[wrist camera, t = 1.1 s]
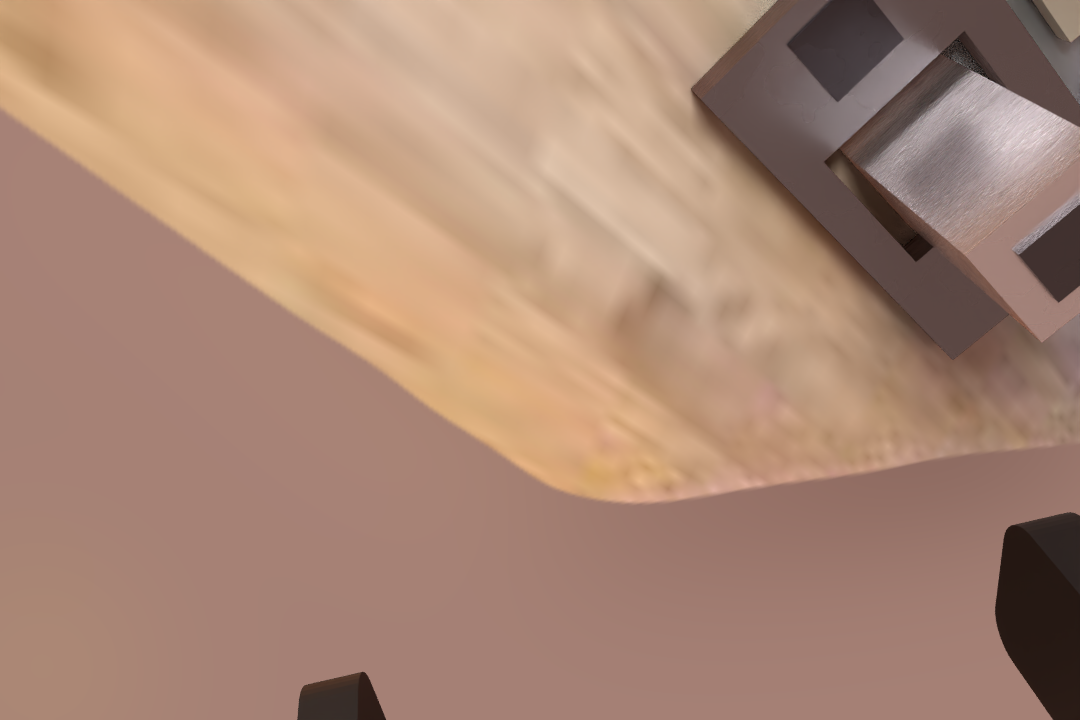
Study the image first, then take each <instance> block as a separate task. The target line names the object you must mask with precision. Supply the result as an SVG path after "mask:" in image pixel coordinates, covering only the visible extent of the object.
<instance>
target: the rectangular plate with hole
mask: <svg viewBox="0 0 1080 720" xmlns="http://www.w3.org/2000/svg"><path fill="white" fill-rule="evenodd" d="M957 37H958V38H959V39H960V41H961V42H962V43H963V45H964V46H965V47H966V49H967V50H968V51H969V53H970V54H971V55H972V57H973V58H974V59H975V61H976V62H977V63H978V65H979V66H980V67H981V69H982V70H983V71H984V73H985V74H986V75H987V77H988V78H989V79H990V80H991V81H993V82H994V83H996V84H998V85H1000V86H1002V87H1004V88H1006V89H1008V90H1010V91H1012V92H1013V93H1015V94H1017V95H1019V96H1021V97H1023V98H1025V99H1027V100H1029V101H1031V102H1032V103H1034V104H1036V105H1038V106H1040V107H1042V108H1044V109H1046V110H1048V111H1049V112H1051V113H1053V114H1055V115H1057V116H1059V117H1061V118H1063V119H1065V120H1067V121H1068V122H1070V123H1072V124H1074V125H1076V126H1078V127H1080V106H1079V104H1078V103H1077V101H1076V100H1075V98H1074V97H1073V96H1072V94H1071V93H1070V91H1069V90H1068V88H1067V87H1066V86H1065V84H1064V83H1063V81H1062V80H1061V78H1060V77H1059V76H1058V74H1057V73H1056V71H1055V70H1054V69H1053V67H1052V66H1051V64H1050V63H1049V61H1048V60H1047V59H1046V57H1045V56H1044V54H1043V53H1042V51H1041V50H1040V49H1039V47H1038V46H1037V44H1036V43H1035V41H1034V40H1033V39H1032V37H1031V36H1030V34H1029V33H1028V31H1027V30H1026V29H1025V27H1024V26H1023V24H1022V23H1021V22H1020V20H1019V19H1018V17H1017V16H1016V14H1015V13H1014V12H1013V10H1012V9H1011V7H1010V6H1009V4H1008V3H1007V2H1006V0H778V1H777V2H776V3H775V4H774V5H773V6H772V7H771V8H770V9H769V10H768V11H767V12H766V13H765V14H764V15H763V16H762V17H761V18H760V19H759V20H758V21H757V22H756V23H755V24H754V25H753V26H752V27H751V28H750V29H749V30H748V32H747V33H746V34H745V35H744V36H743V37H742V38H741V39H740V40H739V41H738V42H737V43H736V44H735V45H734V46H733V47H732V48H731V49H730V50H729V51H728V52H727V53H726V54H725V55H724V56H723V57H722V58H721V59H720V60H719V61H718V62H717V63H716V64H715V65H714V66H713V67H712V68H711V69H710V70H709V71H708V72H707V73H706V74H705V75H704V76H703V77H702V78H701V79H700V80H699V81H698V82H697V83H696V84H695V85H694V86H693V87H692V88H691V90H692V91H693V92H694V93H695V94H696V95H697V96H698V97H699V98H700V99H701V100H702V101H703V102H704V103H705V104H706V105H707V107H708V108H709V109H710V110H711V111H712V112H713V113H714V114H715V115H716V116H717V117H718V118H719V119H720V120H721V121H722V122H723V123H724V124H725V125H726V126H727V127H728V128H729V129H730V130H731V131H732V132H733V133H734V134H735V135H736V137H737V138H738V139H739V140H740V141H741V142H742V143H743V144H744V145H745V146H746V147H747V148H748V149H749V150H750V151H751V152H752V153H753V154H754V155H755V156H756V157H757V158H758V159H759V160H760V161H761V162H762V163H763V164H764V165H765V166H766V168H767V169H768V170H769V171H770V172H771V173H772V174H773V175H774V176H775V177H776V178H777V179H778V180H779V181H780V182H781V183H782V184H783V185H784V186H785V187H786V188H787V189H788V190H789V191H790V192H791V193H792V194H793V195H794V196H795V197H796V199H797V200H798V201H799V202H800V203H801V204H802V205H803V206H804V207H805V208H806V209H807V210H808V211H809V212H810V213H811V214H812V215H813V216H814V217H815V218H816V219H817V220H818V221H819V222H820V223H821V224H822V225H823V226H824V227H825V229H826V230H827V231H828V232H829V233H830V234H831V235H832V236H833V237H834V238H835V239H836V240H837V241H838V242H839V243H840V244H841V245H842V246H843V247H844V248H845V249H846V250H847V251H848V252H849V253H850V254H851V255H852V256H853V257H854V258H855V260H856V261H857V262H858V263H859V264H860V265H861V266H862V267H863V268H864V269H865V270H866V271H867V272H868V273H869V274H870V275H871V276H872V277H873V278H874V279H875V280H876V281H877V282H878V283H879V284H880V285H881V286H882V287H883V288H884V289H885V291H886V292H887V293H888V294H889V295H890V296H891V297H892V298H893V299H894V300H895V301H896V302H897V303H898V304H899V305H900V306H901V307H902V308H903V309H904V310H905V311H906V312H907V313H908V314H909V315H910V316H911V317H912V318H913V319H914V321H915V322H916V323H917V324H918V325H919V326H920V327H921V328H922V329H923V330H924V331H925V332H926V333H927V334H928V335H929V336H930V337H931V338H932V339H933V340H934V341H935V342H936V343H937V344H938V345H939V346H940V347H941V348H942V349H943V350H944V352H945V353H946V354H947V355H948V356H949V357H950V358H951V359H952V360H953V359H955V358H956V357H957V356H958V355H960V354H961V353H962V352H963V351H965V350H966V349H967V348H968V347H969V346H971V345H972V344H973V343H974V342H976V341H977V340H978V339H979V338H981V337H982V336H983V335H984V334H985V333H987V332H988V331H989V330H990V329H992V328H993V327H994V326H995V325H997V324H998V323H999V322H1000V321H1001V320H1003V319H1004V318H1005V317H1006V316H1008V315H1009V313H1008V312H1006V311H1005V310H1004V309H1003V308H1002V307H1001V306H1000V305H999V304H997V303H996V302H995V301H994V300H993V299H992V298H991V297H989V296H988V295H987V294H986V293H985V292H984V291H983V290H982V289H980V288H979V287H978V286H977V285H976V284H975V283H974V282H972V281H971V280H970V279H969V278H968V277H967V276H966V275H965V274H963V273H962V272H961V271H960V270H959V269H958V268H957V267H955V266H954V265H953V264H952V263H951V262H950V261H949V260H948V259H946V258H945V257H944V256H943V255H942V254H941V253H940V252H938V251H937V250H936V249H935V248H934V247H933V246H932V245H931V244H929V243H928V242H927V241H926V240H925V239H924V238H923V237H921V236H920V235H919V234H918V235H917V236H916V237H915V238H914V239H912V240H911V241H910V242H909V243H908V244H907V245H906V246H904V247H902V246H901V245H900V244H899V243H898V242H897V241H896V240H895V239H894V238H893V237H892V236H891V234H890V233H889V232H888V231H887V230H886V229H885V228H884V227H883V226H882V225H881V224H880V223H879V221H878V220H877V219H876V218H875V217H874V216H873V215H872V214H871V213H870V212H869V211H868V209H867V208H866V207H865V206H864V205H863V204H862V203H861V202H860V201H859V200H858V199H857V198H856V196H855V195H854V194H853V193H852V192H851V191H850V190H849V189H848V188H847V187H846V186H845V185H844V183H843V182H842V181H841V180H840V179H839V178H838V177H837V176H836V175H835V174H834V173H833V171H832V170H831V169H830V168H829V167H828V166H827V165H826V164H825V163H824V161H825V160H826V159H828V158H829V157H830V156H831V155H832V154H833V153H834V152H835V151H836V150H837V149H838V148H839V147H840V146H841V145H843V144H844V143H845V142H846V141H847V140H848V139H849V138H850V137H851V136H852V135H853V134H854V133H855V132H857V131H858V130H859V129H860V128H861V127H862V126H863V125H864V124H865V123H866V122H867V121H868V120H869V119H870V118H872V117H873V116H874V115H875V114H876V113H877V112H878V111H879V110H880V109H881V108H882V107H883V106H884V105H885V104H887V103H888V102H889V101H890V100H891V99H892V98H893V97H894V96H895V95H896V94H897V93H898V92H899V91H900V90H902V89H903V88H904V87H905V86H906V85H907V84H908V83H909V82H910V81H911V80H912V79H913V78H914V77H915V76H917V75H918V74H919V73H920V72H921V71H922V70H923V69H924V68H925V67H926V66H927V65H928V64H929V63H930V62H932V61H933V60H934V59H935V58H936V57H937V56H938V55H939V54H940V53H941V52H942V51H943V50H944V49H945V48H947V47H948V46H949V45H950V44H951V43H952V42H953V41H954V40H955V39H956V38H957Z"/></svg>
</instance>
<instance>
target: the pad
mask: <svg viewBox="0 0 1080 720" xmlns="http://www.w3.org/2000/svg"><path fill="white" fill-rule="evenodd" d="M1032 1H1033V3H1034V4H1035V6H1036V7H1037V8H1038V10H1039V11H1040V13H1041V14H1042V16H1043V17H1044V19H1045V20H1046V22H1047V23H1048V25H1049V26H1050V27H1051V29H1052V30H1053V32H1054V33H1055V35H1056V36H1057V37H1058V38H1060V39H1063V40H1065V41H1068V42H1070V43H1071V42H1072V41H1074V40H1075V39H1076V38H1077V37H1078V36H1079V35H1080V0H1032Z"/></svg>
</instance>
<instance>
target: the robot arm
mask: <svg viewBox="0 0 1080 720" xmlns="http://www.w3.org/2000/svg"><path fill="white" fill-rule="evenodd" d="M995 615H996V622H997V627H998V631H999V634H1000V637H1001V640H1002V642H1003V645H1004V647H1005V649H1006V651H1007V653H1008V655H1009V656H1010V658H1011V660H1012V661H1013V663H1014V664H1015V666H1016V667H1017V669H1018V670H1019V671H1020V673H1021V674H1022V676H1023V677H1024V679H1025V680H1026V681H1027V683H1028V684H1029V686H1030V687H1031V689H1032V690H1033V692H1034V693H1035V694H1036V696H1037V697H1038V699H1039V700H1040V702H1041V703H1042V704H1043V706H1044V707H1045V709H1046V710H1047V712H1048V713H1049V714H1050V716H1051V717H1052V719H1053V720H1080V516H1079V515H1077V514H1075V513H1071V512H1070V513H1064V514H1059V515H1055V516H1051V517H1047V518H1042V519H1037V520H1033V521H1029V522H1025V523H1020V524H1016V525H1012V526H1010V527H1008V529H1007V530H1006V532H1005V535H1004V542H1003V549H1002V557H1001V566H1000V574H999V582H998V590H997V598H996V606H995ZM297 720H386V718H385V716H384V713H383V711H382V708H381V706H380V704H379V701H378V699H377V696H376V694H375V691H374V689H373V687H372V684H371V682H370V680H369V678H368V676H367V674H366V673H365V672H360V673H356V674H351V675H348V676H343V677H339V678H334V679H330V680H325V681H321V682H317V683H313V684H308V685H305V686H304V687H303V688H302V690H301V693H300V698H299V708H298V719H297Z"/></svg>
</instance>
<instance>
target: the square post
mask: <svg viewBox="0 0 1080 720" xmlns="http://www.w3.org/2000/svg"><path fill="white" fill-rule="evenodd" d="M839 149H840V150H841V151H842V152H843V153H844V155H845V156H846V157H847V158H848V159H849V160H850V161H851V162H852V163H853V165H854V166H855V167H856V168H857V169H858V170H859V171H860V172H861V173H862V174H863V176H864V177H865V178H866V179H867V180H868V181H869V182H870V183H871V184H872V186H873V187H874V188H875V189H876V190H877V191H878V192H879V193H880V194H881V196H882V197H883V198H884V199H885V200H886V201H887V202H888V203H889V204H890V206H891V207H892V208H893V209H894V210H895V211H896V212H897V213H898V214H899V216H900V217H901V218H902V219H903V220H904V221H905V222H906V223H907V224H908V225H909V226H910V227H911V228H912V229H914V230H915V231H916V232H917V233H918V234H919V235H920V236H921V237H923V238H924V239H925V240H926V241H927V242H928V243H929V244H931V245H932V246H933V247H934V248H935V249H936V250H937V251H938V252H940V253H941V254H942V255H943V256H944V257H945V258H946V259H948V260H949V261H950V262H951V263H952V264H953V265H954V266H955V267H957V268H958V269H959V270H960V271H961V272H962V273H963V274H965V275H966V276H967V277H968V278H969V279H970V280H971V281H972V282H974V283H975V284H976V285H977V286H978V287H979V288H980V289H982V290H983V291H984V292H985V293H986V294H987V295H988V296H989V297H991V298H992V299H993V300H994V301H995V302H996V303H997V304H999V305H1000V306H1001V307H1002V308H1003V309H1004V310H1005V311H1006V312H1008V313H1009V314H1010V315H1011V316H1012V317H1013V318H1014V319H1016V320H1017V321H1018V322H1019V323H1020V324H1021V325H1022V326H1023V327H1025V328H1026V329H1027V330H1028V331H1029V332H1030V333H1031V334H1033V335H1034V336H1035V337H1036V338H1037V339H1038V340H1039V341H1040V342H1043V341H1045V340H1046V339H1047V338H1048V337H1050V336H1051V335H1052V334H1053V333H1055V332H1056V331H1057V330H1058V329H1060V328H1061V327H1062V326H1063V325H1065V324H1066V323H1067V322H1069V321H1070V320H1071V319H1072V318H1074V317H1075V316H1076V315H1077V314H1079V313H1080V127H1078V126H1076V125H1074V124H1072V123H1070V122H1068V121H1067V120H1065V119H1063V118H1061V117H1059V116H1057V115H1055V114H1053V113H1051V112H1049V111H1048V110H1046V109H1044V108H1042V107H1040V106H1038V105H1036V104H1034V103H1032V102H1031V101H1029V100H1027V99H1025V98H1023V97H1021V96H1019V95H1017V94H1015V93H1013V92H1012V91H1010V90H1008V89H1006V88H1004V87H1002V86H1000V85H998V84H996V83H994V82H993V81H991V80H989V79H987V78H985V77H983V76H981V75H979V74H977V73H975V72H974V71H972V70H970V69H968V68H966V67H964V66H962V65H960V64H958V63H957V62H955V61H953V60H951V59H949V58H947V57H945V56H943V55H941V54H939V55H938V56H937V57H936V58H935V59H934V60H933V61H932V62H930V63H929V64H928V65H927V66H926V67H925V68H924V69H923V70H922V71H921V72H920V73H919V74H918V75H917V76H915V77H914V78H913V79H912V80H911V81H910V82H909V83H908V84H907V85H906V86H905V87H904V88H903V89H902V90H900V91H899V92H898V93H897V94H896V95H895V96H894V97H893V98H892V99H891V100H890V101H889V102H888V103H887V104H885V105H884V106H883V107H882V108H881V109H880V110H879V111H878V112H877V113H876V114H875V115H874V116H873V117H872V118H870V119H869V120H868V121H867V122H866V123H865V124H864V125H863V126H862V127H861V128H860V129H859V130H858V131H857V132H855V133H854V134H853V135H852V136H851V137H850V138H849V139H848V140H847V141H846V142H845V143H844V144H843V145H841V146H840V147H839Z"/></svg>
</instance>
